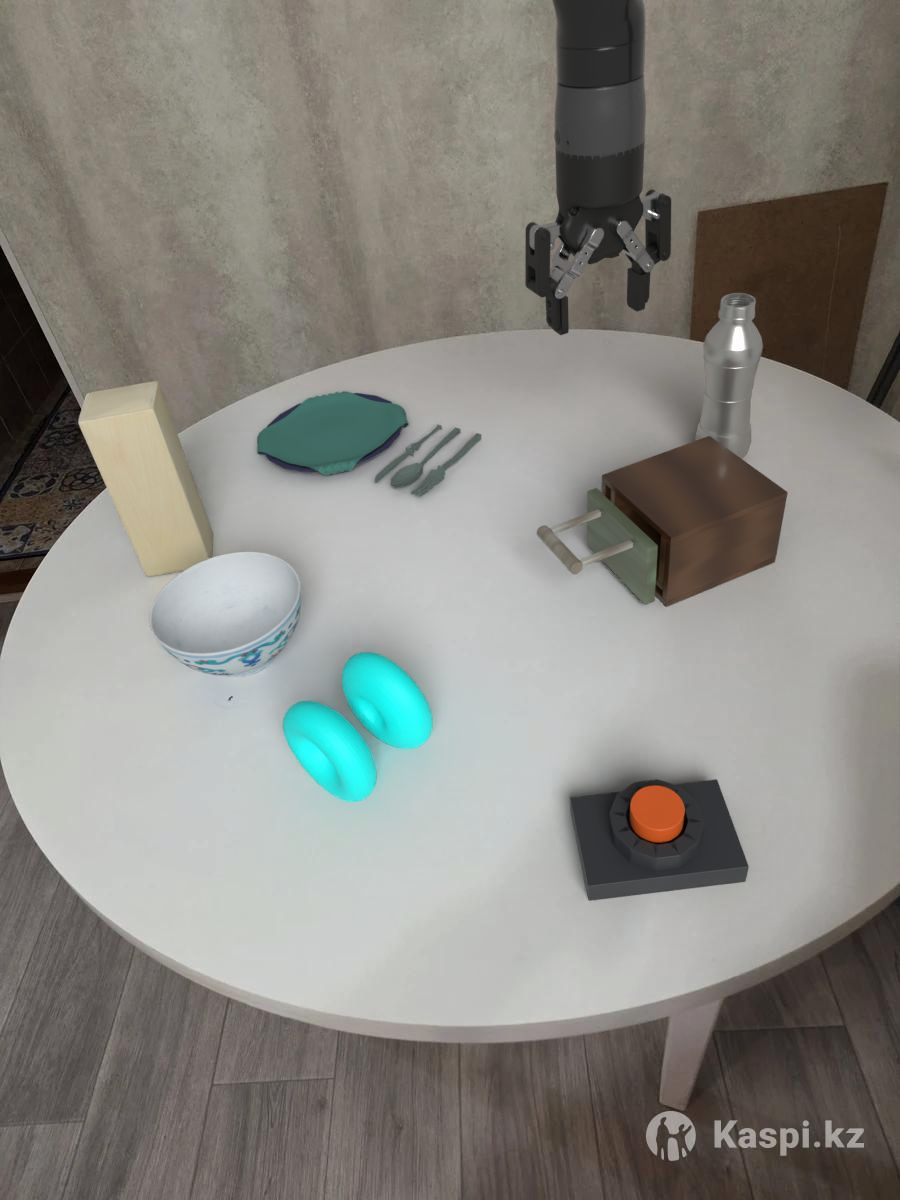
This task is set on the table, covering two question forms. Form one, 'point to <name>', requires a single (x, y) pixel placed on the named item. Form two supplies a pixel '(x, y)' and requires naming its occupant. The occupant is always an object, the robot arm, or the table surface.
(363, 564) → the table surface
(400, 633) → the table surface
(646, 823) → the button
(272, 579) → the chinaware
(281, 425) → the cutlery set
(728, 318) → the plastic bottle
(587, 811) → the control block
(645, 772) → the table surface
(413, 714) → the donuts
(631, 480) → the cabinet
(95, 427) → the tall cream wooden block
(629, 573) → the drawer
